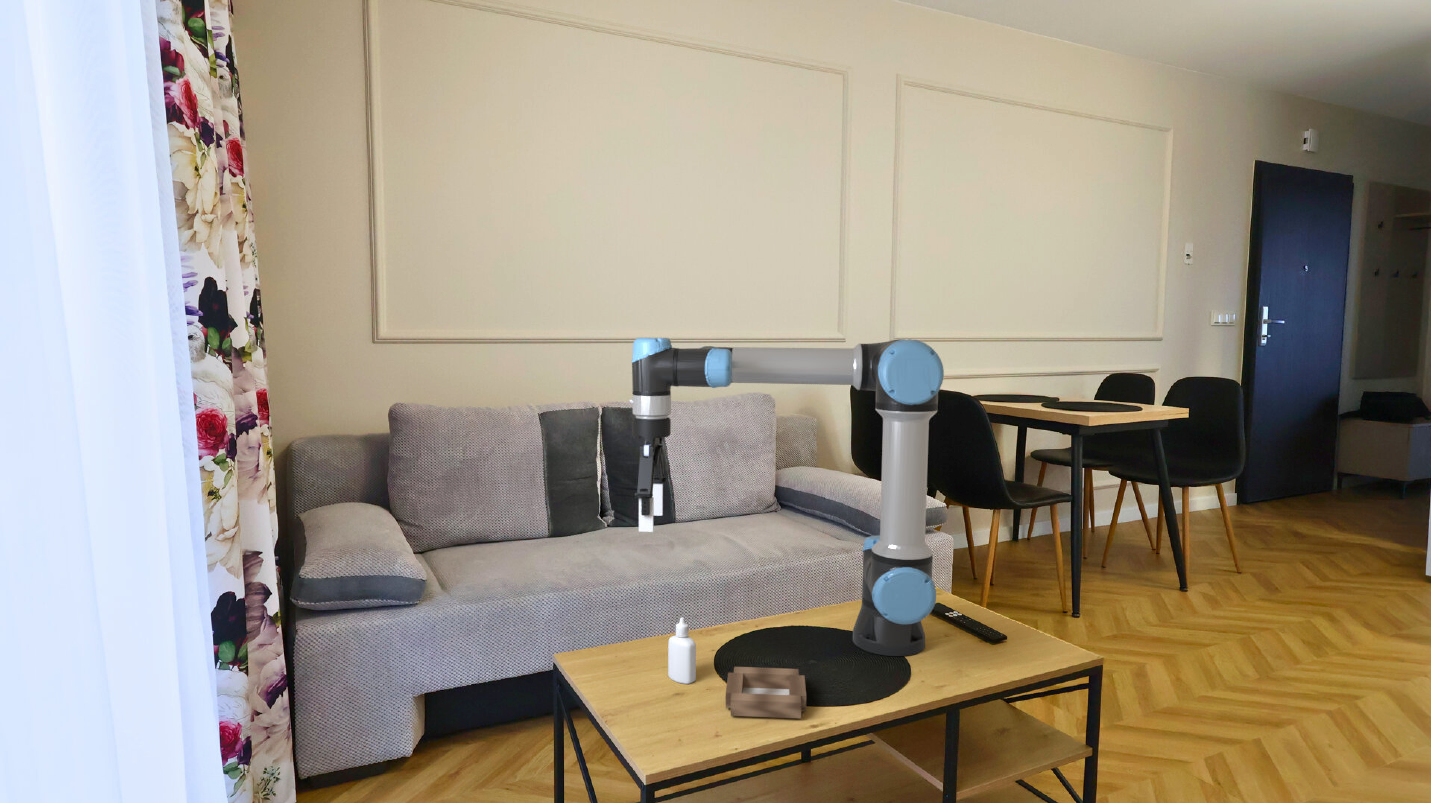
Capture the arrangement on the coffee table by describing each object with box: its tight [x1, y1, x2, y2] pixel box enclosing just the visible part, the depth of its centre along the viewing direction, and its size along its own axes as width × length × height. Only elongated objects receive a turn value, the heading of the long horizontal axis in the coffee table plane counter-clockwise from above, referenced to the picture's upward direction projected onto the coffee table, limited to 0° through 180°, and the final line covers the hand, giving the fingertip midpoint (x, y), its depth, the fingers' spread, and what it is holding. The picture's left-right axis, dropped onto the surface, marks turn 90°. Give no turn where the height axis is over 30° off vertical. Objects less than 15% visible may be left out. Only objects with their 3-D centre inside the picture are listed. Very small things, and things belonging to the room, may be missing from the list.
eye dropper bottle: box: [667, 616, 697, 685], centre depth 156 cm, size 4×6×12 cm
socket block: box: [725, 666, 807, 719], centre depth 147 cm, size 14×14×3 cm
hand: (651, 523), depth 163 cm, fingers open, 13 cm apart
